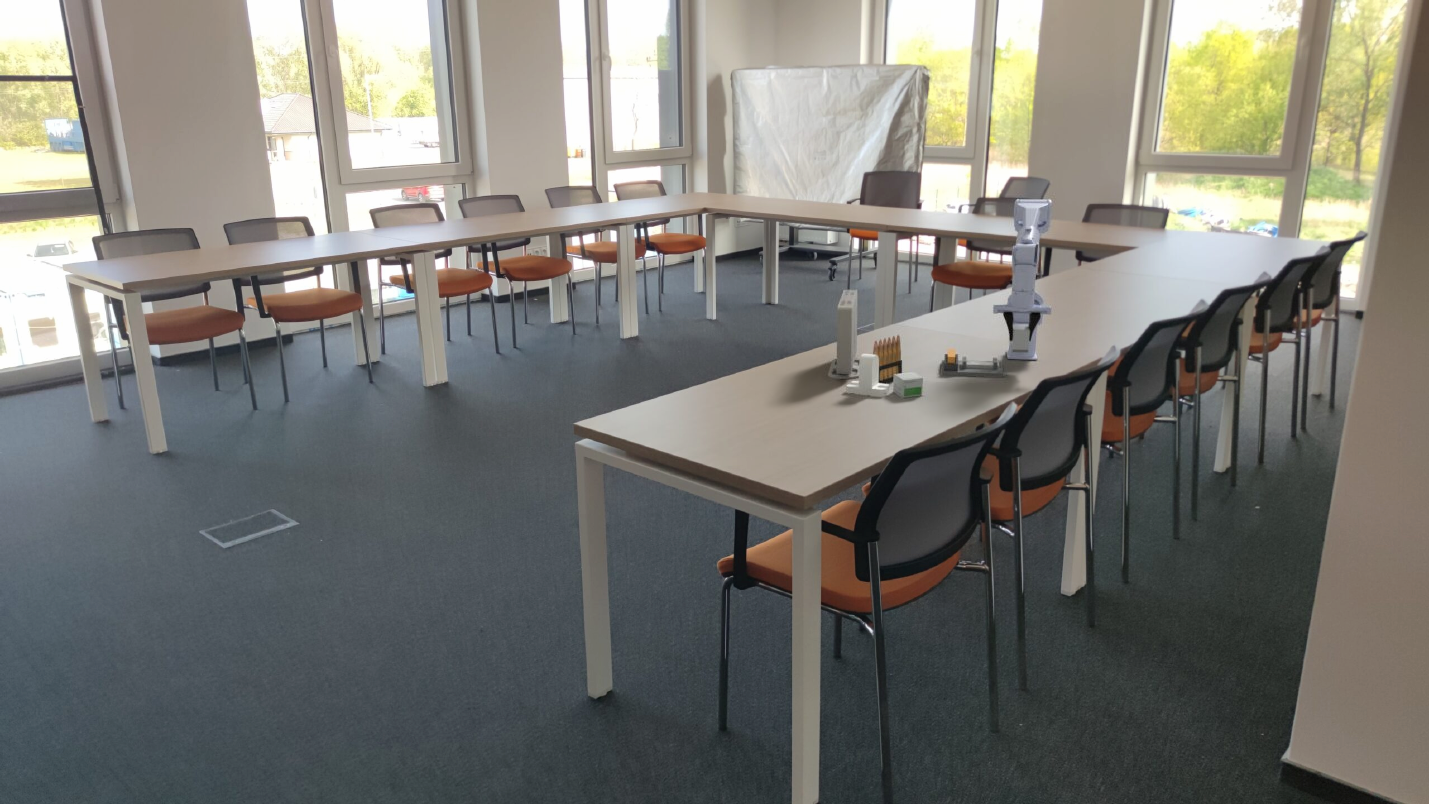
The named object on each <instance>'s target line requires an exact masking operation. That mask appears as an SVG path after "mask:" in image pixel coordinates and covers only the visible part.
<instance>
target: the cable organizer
mask: <svg viewBox="0 0 1429 804" xmlns="http://www.w3.org/2000/svg"><path fill="white" fill-rule="evenodd" d="M859 359H860V362H858V363H859V364H858V365H859V378H858V380H851V381H850V384H847V385H846V392H847V393H846V394H850V393H855V394H854V395H859V394H860V396H861V395H862V396H867V395H870V397H876V396H877V397H878V398H884V397H885V396H886V394H889V393H890V384H889V383H886V384H883V383H878V382H879V358H878V355H873V353H872V354H870V353H862V354H861V356H860V358H859ZM877 397H876V398H877Z"/></svg>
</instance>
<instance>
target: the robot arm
mask: <svg viewBox="0 0 1429 804" xmlns="http://www.w3.org/2000/svg"><path fill="white" fill-rule="evenodd" d="M1052 207H1053V201H1052V200H1051V198H1048V199H1020V198H1017V199H1016V200H1014V206H1013V226H1014V231H1016V232H1017V234H1016V240H1015V245H1013V246H1012V252H1011V265H1012V267H1011V268H1012V269H1011V270H1012V271H1011V272H1012V282H1011V284H1012V285H1011V294H1010V295H1009V296H1008V297H1007V303H1006V304H993V308H992V313H993V314H994V315H995V314H1002V317H1003V319H1004V321H1005V324H1006V327H1007V330H1008V337H1009V338H1008V341H1009V343H1008V348H1007V349H1005V352H1006V356H1007V360H1025V361H1026V360H1030V361H1031V360H1032V361H1038V356H1037V352H1036V350H1037V349H1036V345H1037V334H1038V333H1037V332H1038V327H1039V326H1041V325H1042V324H1043V319H1044V315H1048V316H1049V315H1050V316H1051V315H1052V306H1051V305H1045V304H1044V301H1045V300H1044V298H1043V296H1042V295H1041V294H1039V292H1037V291H1036V275H1037V267H1038V264H1039V261H1040V240H1041V238H1042V235H1043V234H1045V233H1047V232H1049V228H1050V227H1051V219H1052V211H1053V210H1052V209H1053V208H1052ZM1013 324H1028V327H1029V330H1030V335H1029V349H1028V353H1026V352H1012V347H1011V341H1012V339H1013Z"/></svg>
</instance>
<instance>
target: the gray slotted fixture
mask: <svg viewBox="0 0 1429 804" xmlns="http://www.w3.org/2000/svg"><path fill="white" fill-rule="evenodd" d="M947 357H948V353H944V359H943V360H944V371H958V360H959V354H957V353H955V362H956V363H946V361H947ZM961 360H962V361H961V362H960V368H962V369H966V368H980V369H993V370H997V369H999V362H1000V361H998V357H992V361H993V362H980V361H981V360H968V359H967V356H962V359H961Z"/></svg>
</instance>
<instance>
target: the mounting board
mask: <svg viewBox="0 0 1429 804" xmlns="http://www.w3.org/2000/svg"><path fill="white" fill-rule="evenodd" d="M961 361H962V359H958V371H944V359H941V369H940V371H941V372H940V376H958V377H959V376H960V377H985V376H986V377H985V378H987V377H988V378H990V377H992V378H1004V375H1005V374H1004V369H1003V363H1002V361H998V362H999V369H997V370H993V369H980V368H966V369H962V368H960V362H961ZM979 361H980V362H993V360H992V361H989V360H979ZM946 363H947V361H946ZM955 363H956V362H955Z"/></svg>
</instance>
